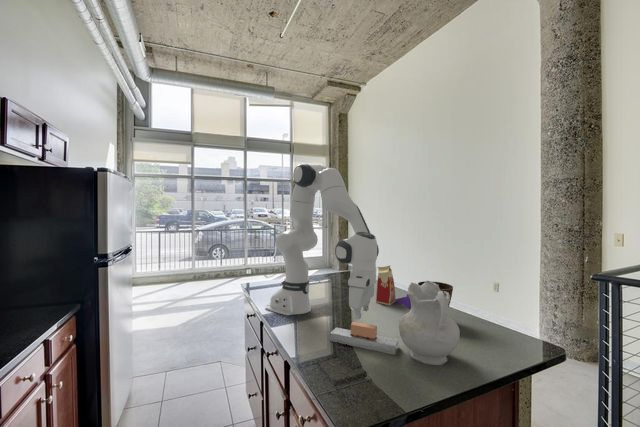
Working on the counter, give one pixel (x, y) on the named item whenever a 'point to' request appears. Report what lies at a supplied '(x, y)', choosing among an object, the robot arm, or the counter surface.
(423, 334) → the ceramic pitcher
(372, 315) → the counter surface
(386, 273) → the red paper bag
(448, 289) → the plant pot
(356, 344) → the rail
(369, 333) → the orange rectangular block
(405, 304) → the purple cone
